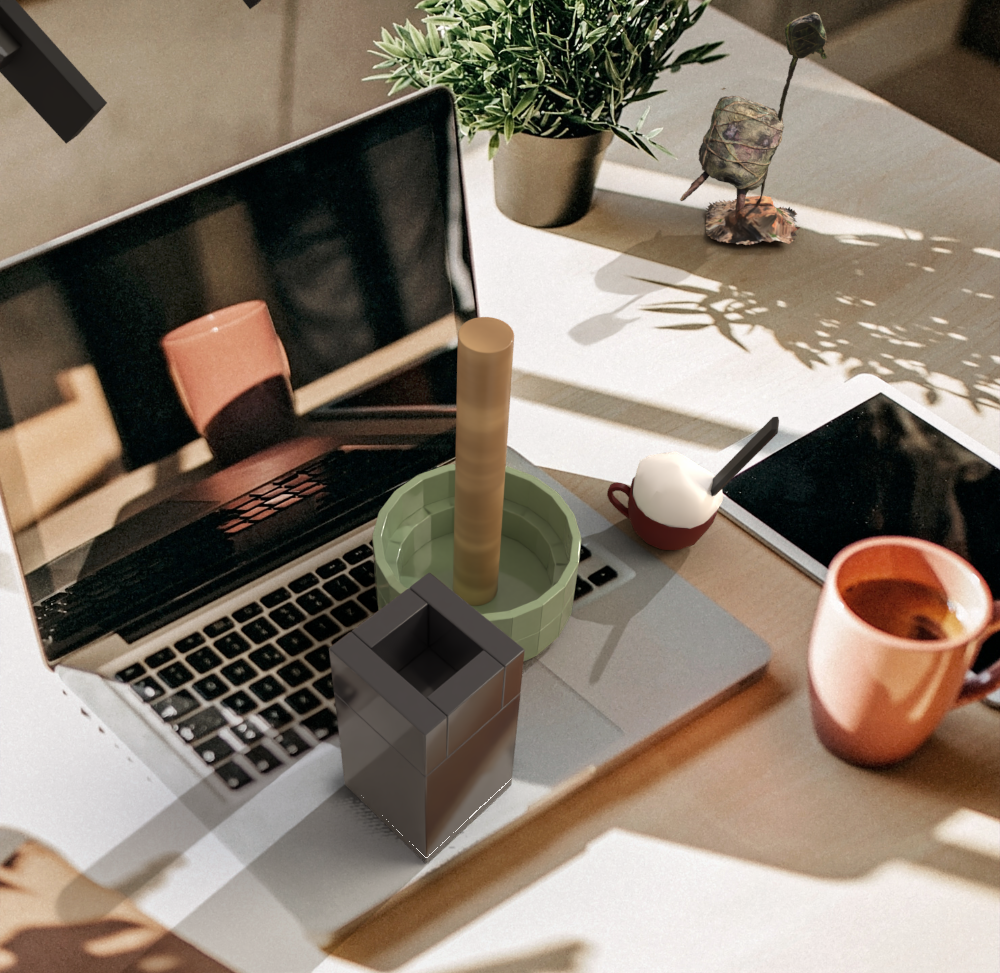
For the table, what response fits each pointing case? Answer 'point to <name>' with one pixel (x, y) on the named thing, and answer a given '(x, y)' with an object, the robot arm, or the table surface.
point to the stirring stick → (480, 455)
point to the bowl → (523, 552)
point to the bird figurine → (752, 153)
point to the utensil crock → (427, 713)
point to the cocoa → (680, 494)
